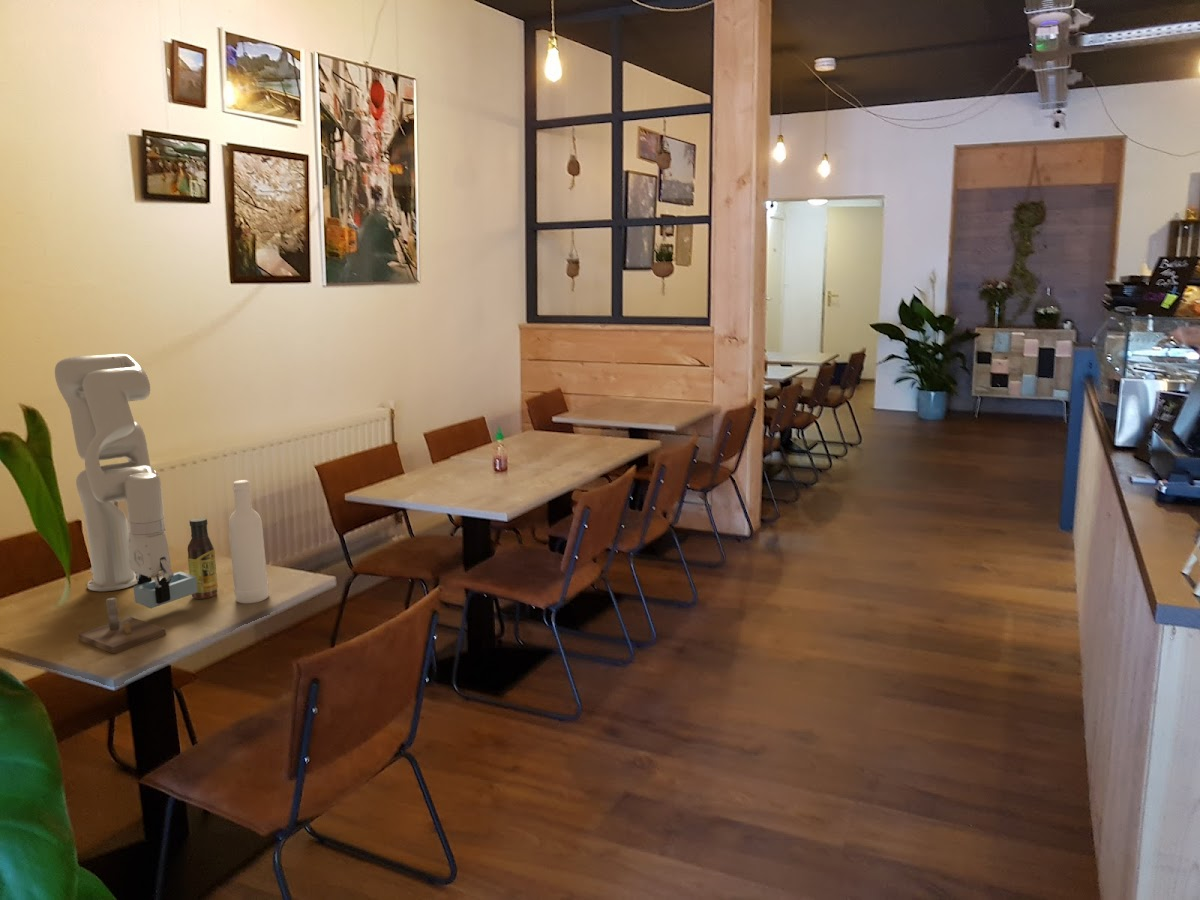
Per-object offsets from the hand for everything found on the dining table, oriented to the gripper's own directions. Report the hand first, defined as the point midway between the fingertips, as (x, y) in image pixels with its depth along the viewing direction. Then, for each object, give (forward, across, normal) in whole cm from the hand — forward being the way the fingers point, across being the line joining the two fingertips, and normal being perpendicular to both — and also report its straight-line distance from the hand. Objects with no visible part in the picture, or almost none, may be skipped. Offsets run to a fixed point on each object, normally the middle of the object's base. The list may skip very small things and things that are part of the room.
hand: (154, 597), depth 216 cm
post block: (+4, +5, -11) cm, 13 cm away
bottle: (+5, +9, +20) cm, 22 cm away
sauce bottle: (+5, -3, +15) cm, 16 cm away
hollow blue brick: (+1, 0, +3) cm, 3 cm away
